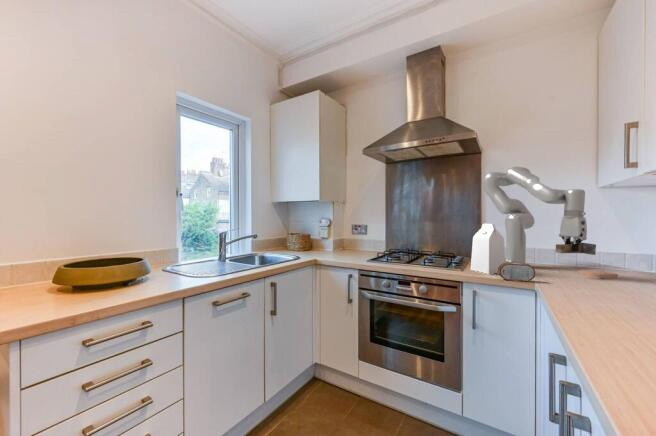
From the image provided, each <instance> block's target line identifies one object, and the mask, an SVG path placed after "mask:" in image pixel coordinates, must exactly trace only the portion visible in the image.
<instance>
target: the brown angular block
mask: <svg viewBox="0 0 656 436" xmlns="http://www.w3.org/2000/svg"><path fill="white" fill-rule="evenodd" d="M570 242H571V243H573V240H571V241H570ZM596 251H597V244H596V243H595V244H594V243H587V242H583V241H582V242H581V243H580V244H579V250H578V252H573V251H572V244H565V243H564V244H563V243H562V244H561V243H560V244H555V253H558V254H586V255H591V256H592V255H593V256H596V253H597V252H596Z"/></svg>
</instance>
